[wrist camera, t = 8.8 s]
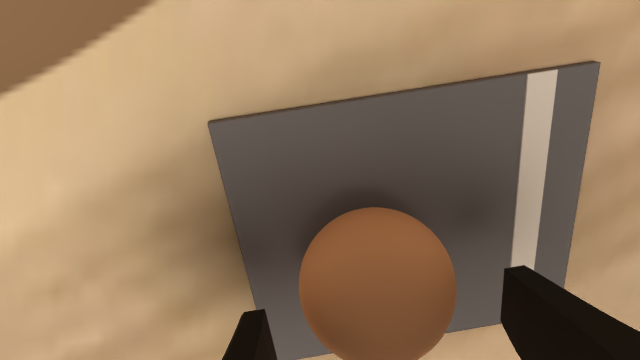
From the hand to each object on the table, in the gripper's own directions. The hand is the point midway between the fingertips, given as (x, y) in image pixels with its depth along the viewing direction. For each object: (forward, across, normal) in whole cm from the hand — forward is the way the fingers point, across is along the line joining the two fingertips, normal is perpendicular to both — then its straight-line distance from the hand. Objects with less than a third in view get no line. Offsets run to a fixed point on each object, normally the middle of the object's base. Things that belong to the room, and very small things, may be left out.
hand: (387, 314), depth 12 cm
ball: (+4, 0, 0) cm, 4 cm away
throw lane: (+4, -2, 0) cm, 5 cm away
